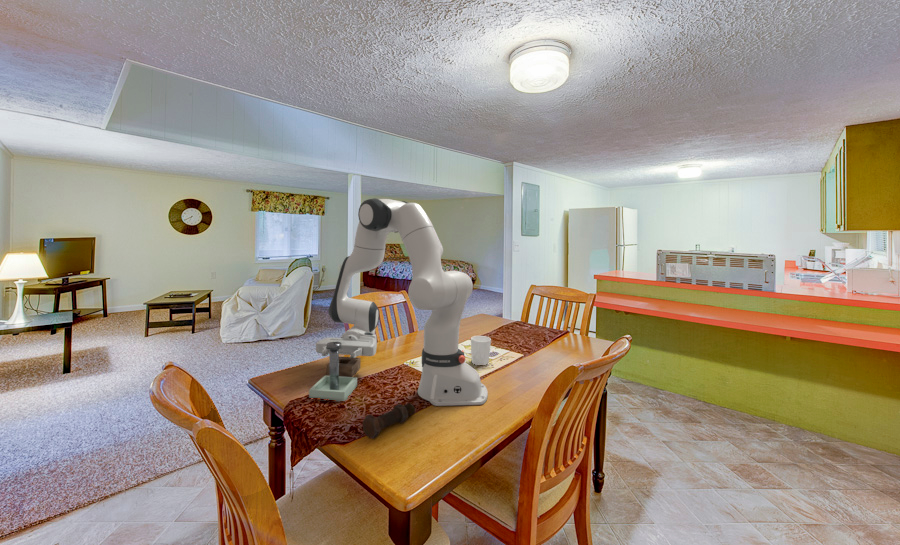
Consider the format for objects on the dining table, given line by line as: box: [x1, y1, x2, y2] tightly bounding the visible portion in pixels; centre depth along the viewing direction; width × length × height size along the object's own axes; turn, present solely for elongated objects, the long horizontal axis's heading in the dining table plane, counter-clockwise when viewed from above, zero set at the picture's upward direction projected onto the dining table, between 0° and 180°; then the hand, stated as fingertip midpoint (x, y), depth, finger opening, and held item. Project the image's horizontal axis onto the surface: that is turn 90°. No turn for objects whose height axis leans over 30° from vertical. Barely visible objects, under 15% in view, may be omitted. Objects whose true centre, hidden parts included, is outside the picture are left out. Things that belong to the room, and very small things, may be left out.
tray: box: [308, 374, 358, 402], centre depth 112 cm, size 11×11×3 cm
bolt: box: [362, 402, 416, 440], centre depth 94 cm, size 6×5×15 cm
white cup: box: [470, 335, 492, 366], centre depth 141 cm, size 8×8×10 cm
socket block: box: [326, 356, 361, 377], centre depth 128 cm, size 9×9×4 cm
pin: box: [327, 342, 341, 390], centre depth 111 cm, size 4×4×15 cm
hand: (338, 354), depth 115 cm, fingers open, 8 cm apart
